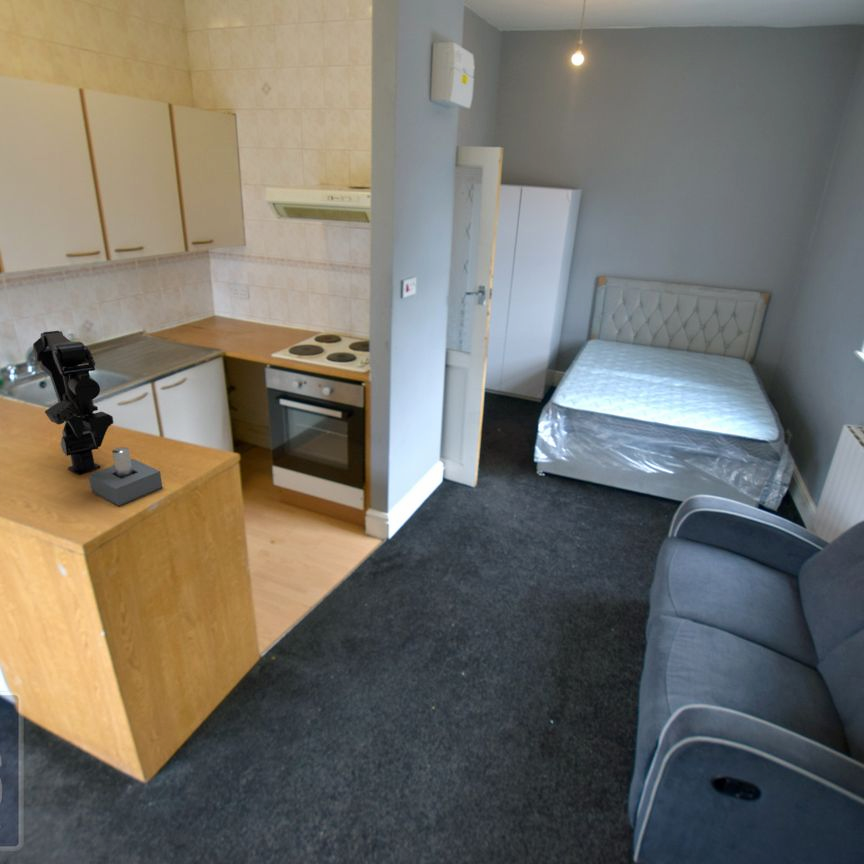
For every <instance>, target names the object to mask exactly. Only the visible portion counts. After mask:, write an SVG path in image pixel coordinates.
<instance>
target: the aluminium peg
mask: <svg viewBox="0 0 864 864" xmlns="http://www.w3.org/2000/svg"><path fill="white" fill-rule="evenodd" d="M112 455H113V457H112V458H113V462H114V465H115V469H116V474H117V477H119V478H121V479H122V478H125V477H127V476H130V475H132V474H133V471H132V465H131V460H130V459H131V456H130V449H129V447H125V446H120V447H116V448H114V449H112Z"/></svg>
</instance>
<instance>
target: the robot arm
mask: <svg viewBox="0 0 864 864" xmlns="http://www.w3.org/2000/svg"><path fill="white" fill-rule="evenodd" d="M39 337H40V338H38V339H37V340H36V341H34V343H33V344H32V354H33V358H34V360H35V362H37V363H38V365H39V368H40V370H42V371H43V372H44V373H46V374H47V376H49V378H50V381H51V383H52V387H53V390H54V393H55V396H56V399H57V403H54V405H52V406H50V407H49V408H47V409H46V410H45V411H44V414H45V415H46V416H47V418H48V419H49V420H50V421H51V422H52V423H54V424H56V425H59V426H60V425H62V424H64V425H63V427H62V428H63V429H62V432H61V435H62V436H61V440H60V447H61V450H62V452H63V453H64V455H65V456H66V457H68V456H70V460H71V461H70V462H71V464H72V465H71V466H68V467H67V469H68V470H69V471H71V472H72V473H75V474H76V475H79V476H81V475H84V474H86V473H90V472H92V471H95V470H97V469H100V468H101V465H100V464H97V463H95V457H94V453H93V450H98V449H99V448H100V447H101V446H102V444H103V441H104V438H105V436H106V433H107V431H108V429H109V427H111V426H112V425H113V424H114V423H115V422H114V417H113V416H112V415H110V414H109V413H106V412H104V411H99V412H97V411H98V410H99V408H98V406H97V405H95V404H94V399H96V398H98V396H99V395H100V392H101V386H100V385H99V383H98V382H97V381H96V380H95V379H94V378H93V377H92V376H91V373H90V372H95V371H96V368H95V366H96V361H95V360H94V357H93V354H92V353H91V350H90V349H89V348H88V346H87V345H85V344H84V343H83V342H81V341H71V340H70V339H69V338H67V337H66V336H65V335H64V334H63V331H62V330H61V331H60V330H53V331H52V330H51V331H50V330H49V331H43V332H41V333H40V336H39ZM94 412H95V413H94Z"/></svg>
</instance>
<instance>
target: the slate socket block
mask: <svg viewBox="0 0 864 864" xmlns="http://www.w3.org/2000/svg"><path fill="white" fill-rule="evenodd" d="M130 460H131V465H132V471H133V474H132V475H130V476H127V477H125V478H122V479H121V478H119V477H117V474H116V469H115V464H113V465H112V466H108V467H106V468H102V469H100V470H97V471H94V472H91V473H89V474H88V481H89V485H90V490H91V493H93V494H95V495H96V496H98V497H100V498H102V499H104V500H106V501H107V502H109V503H112V504H113V505H115V506H116V507H118V508H119V507H121V506H124V505H126V504H129V503H132V502H133V501H135V500H138V499H141V498H143V497H146V496H147V495H150V494H152V493H155V492H156V491H159V490H161V489H163V482H162V476H161V475H162V474H161V471H160V470H158V469H156V468H155V467H152V466H150V465H148V464H145V463H143V462H141V461H139V460H137V459H134V458H130Z"/></svg>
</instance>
